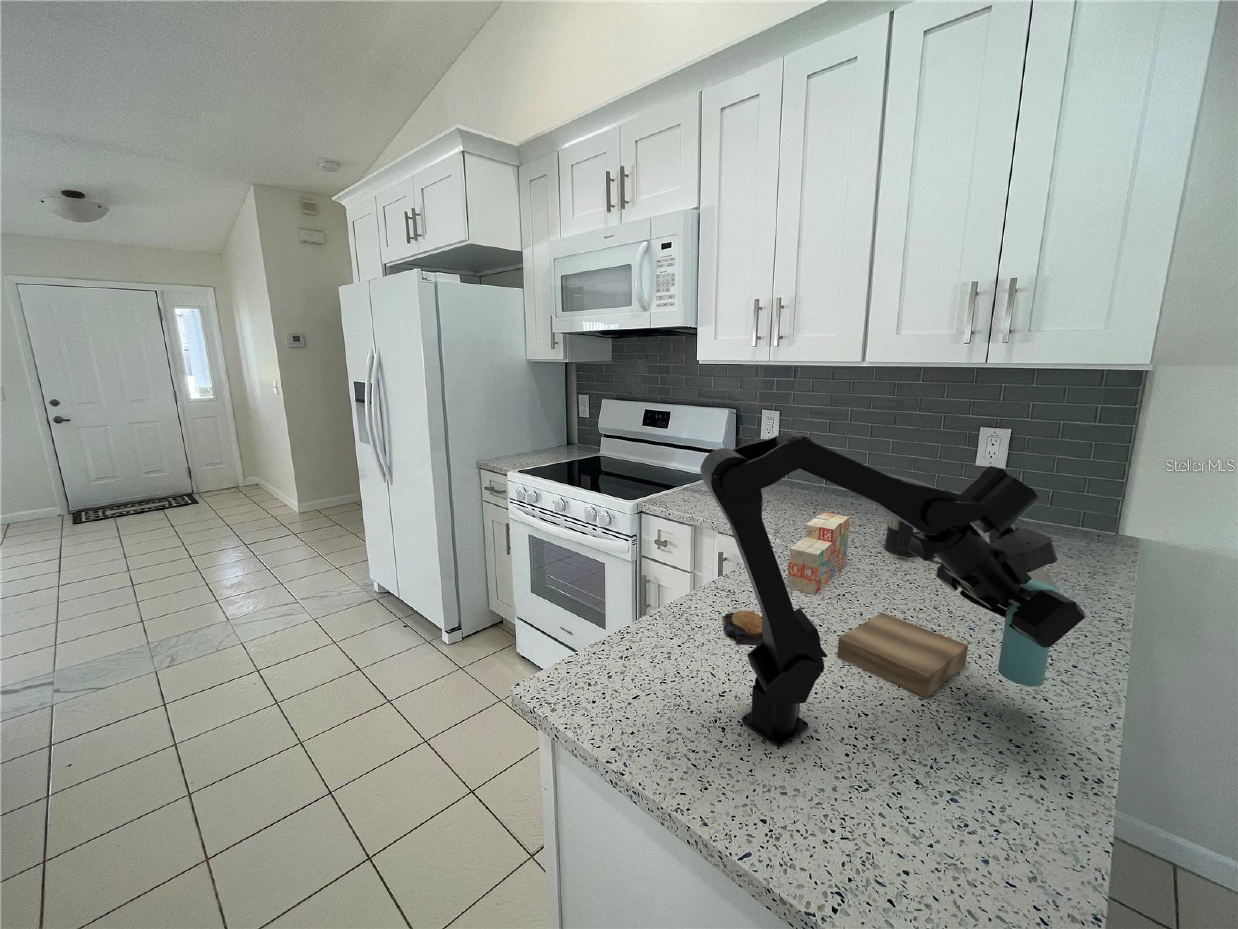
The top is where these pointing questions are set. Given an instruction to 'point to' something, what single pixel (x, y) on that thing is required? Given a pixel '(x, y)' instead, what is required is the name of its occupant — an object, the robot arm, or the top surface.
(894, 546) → the milk frother
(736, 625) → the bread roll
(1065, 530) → the top surface
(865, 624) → the walnut plinth
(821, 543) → the stack of blocks
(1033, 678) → the teal post
